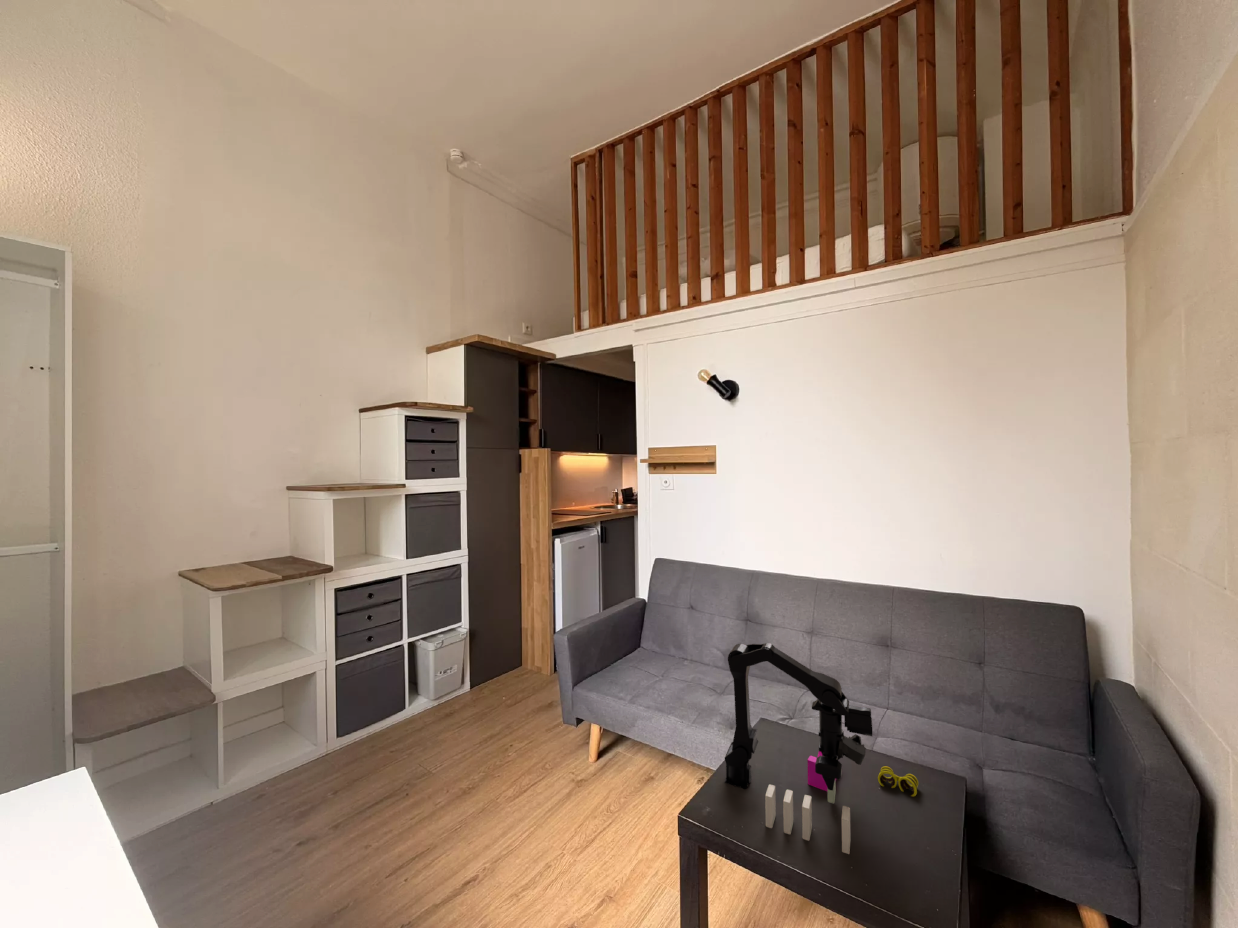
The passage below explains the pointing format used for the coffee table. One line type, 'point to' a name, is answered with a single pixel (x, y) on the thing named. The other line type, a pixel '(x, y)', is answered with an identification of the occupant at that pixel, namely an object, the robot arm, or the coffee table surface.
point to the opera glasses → (901, 780)
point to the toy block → (815, 774)
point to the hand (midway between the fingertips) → (831, 783)
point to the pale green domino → (831, 794)
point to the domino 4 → (846, 830)
